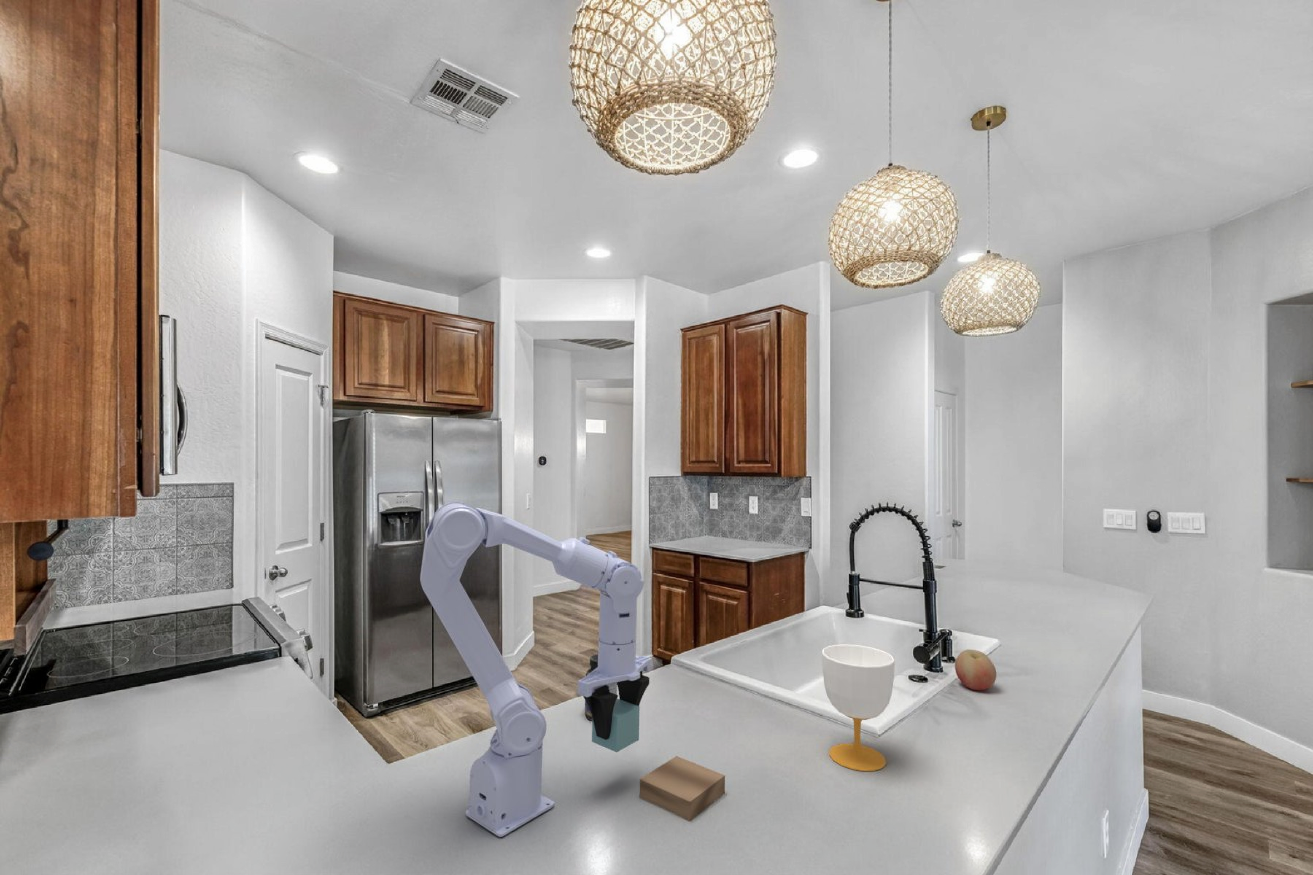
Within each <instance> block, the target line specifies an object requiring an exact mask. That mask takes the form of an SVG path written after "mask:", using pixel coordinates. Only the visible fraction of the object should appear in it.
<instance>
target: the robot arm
mask: <svg viewBox="0 0 1313 875" xmlns="http://www.w3.org/2000/svg"><path fill="white" fill-rule="evenodd" d="M590 543H591V540H589V539H587V538H584V537H582V536H580V537H579V539H577V538H575V537H570V538H567V539H565V540H563V541H559V540H557V539H555V538H553V537H550V536H548V535H547V534H544V533H542V532H540V531H538V530H535V529H534V528H532V527H529V526H527V525H525V524H523V523H521V522H519V521H516V520H514V519H512V518H510V517H508V516H506V515H504V514H501V513H499V512H498V513H497V512H494V511H490V510H488V509H484V508H479V507H475V509H474V508H472V507H471V506H470V505H468V504H466V503H464V502H461V501H450V502H446V503H445V504H443V505H441V506H440V507H439V508H438V509H436V511H435V513H434V514H433V516H432V518H431V520H430V522H429V524H428V526H427V527H426V529H425V535H424V545H423V553H422V560H421V568H420V575H419V576H420V578H419V580H420V585H421V588H422V590H423V592H424V594H425V595H426V598H427V600H428V601H429V603H430V604H431V607H433V610H434V611H435V613H436V615H437V616H438V618H439V620H440V621H441V623H442V625H443V626H444V629H445V630H446V632H447V634H448V635H449V638H450V639H451V640H452V643H453V644H454V645H455V648H456V649H457V651H458V654H460V656H461V658H462V659H463V661H464V664H465V665H466V667H467V668H468V670H469V672H470V674H471V676H472V677H473V679H474V681H475V682H476V684H477V686H478V687H479V689H480V691H481V693H482V694H483V696H484V698H485V701H486V703H487V704H488V706H489V708H490V709H489V711H490V716H491V719H492V721H493V723H494V725H495V727H496V729H495V731H494V733H493V735H492V737H491V739H490V742H489V743H490V744H489V747H488V749H487V750H486V751H485V752H484V753H483V755H480V757H479V758H477V759H476V760H475V761H473V763H472V765H471V768H470V774H469V795H468V796H469V798H468V799H469V800H468V801H469V802H468V803H469V804H468V809H466V811H465V816H466V817H467V818H470V819H471V820H473V821H474V822H476V823H477V824H479V825H480V826H482V827H483V828H485V829H486V830H487V831H489V832H491V833H493V834H494V835H496V837H499V838H501V837H502V838H503V837H504V836H506V835H508V834H509V833H511V832H512V831H514V830H516V829H518V828H519V827H521V826H523V825H524V824H527V822H530V821H531V820H533V819H534V818H537V817H538V816H540V815H541V814H544V813H545V812H547V811H549V810H550V809H552V808H553V807H554V806H555V801H553V800H552V799H550V798H548V797H546V796H544V795H542V789H543V788H542V784H543V783H542V782H543V779H542V778H543V749H544V748H543V745H544V744H543V742H544V738H545V736H546V732H547V721H546V717H545V715H544V713H543V712H542V711H541V710H540V709H539V707H538V705H537V703H536V702H535V700H534V697H533V694H532V693H531V691H530V690H529V689H528V688H527V687H526V686H524V685H523V684H520V683H519V682H518V681H517V680H516V677H515V676H514V675H513V673H512V671H511V670H510V668H509V666H508V664H507V663H506V661H505V659H504V657H503V655H502V654H501V652H500V650H499V648H498V646H497V645H496V643H495V641H494V639H493V637H492V636H491V634H490V632H489V631H488V629H487V627H486V626H485V624H484V622H483V620H482V618H481V617H480V615H479V612H478V611H477V610H476V607H475V606H474V604H473V602H472V601H471V599H470V597H469V595H468V594H467V592H466V589H465V588H464V587H463V584H462V583H461V581H460V580H461V577H462V575H463V572H464V569H465V567H466V565H467V561H468V559H469V558H470V557H471V556H472V554H474V552H475V551H476V550H477V548H478V547H479V546H480V544H482V545H483V546H484V547H485V548H490V547H494V546H499V545H503V544H504V545H508V546H511V547H513V548H515V549H519V550H521V551H523V552H526V553H529V554H531V555H533V556H537V557H538V558H541V559H543V560H547V561H549V562H551V563H552V566H553V568H554V571H555V573H556V575H558V576H560V577H564V578H566V579H568V580H570V581H573V582H575V583H578V584H579V585H583V586H586V587H587V588H589V589H592V590H598V591H599V609H598V611H599V612H598V645H597V646H598V647H597V648H598V649H597V651H598V652H597V653H598V667H597V668H596V669H595V670H593V671H592V672H591V673H589V674H588V675H587V676H586V675H585V676H584V677H583V678H580V679H579V680H577V695H579V696H582V697H583V699H584V701H585V700H586V702H587V704H588V707H589V709H590V712H591V715H592V718H593V722H594V726H595V731H596V736H597V737H600V738H602V739H605V740H607V739H609V737H610V733H611V723H612V714H613V709H614V705H615V702H616V700H617V699H620V700H623V701H625V702H628V703H631V704H634V705H637V706H640V704H641V701H642V698H643V696H644V694H645V692H646V691H647V688H648V687H649V685H650V677H649V676H646V675H643V672H646V673H649V672H650V671H652V659H653V658H651V657H648V656H645V655H641V656H637V622H638V620H637V619H638V618H637V617H638V615H637V614H638V611H637V610H638V607H637V606H638V605H637V604H638V598H639V596H640V595H641V593H642V592H643V589H644V585H645V580H643V579H642V573H641V571H640V570H639V569H638V567H637V566H636V565H635V564H633V563H631V562H629V561H627V560H625V559H622V558H621V557H620V556H618V555H617V553H616V552H614V551H612V550H609V551H608V552H607V551H604V550H602V549H599V548H597V547H595V546H593V545H591V544H590ZM614 683H617V692H618V694H617V695H616V694H613V693H611V692H610V690H608V686H610V685H612V684H614Z"/></svg>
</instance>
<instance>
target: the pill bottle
mask: <svg viewBox="0 0 1313 875" xmlns="http://www.w3.org/2000/svg"><path fill="white" fill-rule="evenodd" d="M589 667H590V668H589V669H588V670H586V673H585V677H586V676H587V675H588V674H589V673H591V672H592V671H593V670H595V669H596V668H597V667H598V654H593V655H592V656H590V658H589ZM608 690H610V692H611V693H613V694H616V695H618V686H617V683H614V684H612V685H610V686H608ZM584 716H585V718H587V720H590V721H592V715H591V712H590V709H589V707H588V704H587V702H586V700H585V699H584Z"/></svg>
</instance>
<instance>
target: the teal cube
mask: <svg viewBox="0 0 1313 875" xmlns="http://www.w3.org/2000/svg"><path fill="white" fill-rule="evenodd" d="M640 708H641V707H640V705H639V706H637V705H634V704H631V703H628V702H625V701H623V700H620V698H617V700H616V702H615V705H614V709H613V714H612V723H611V733H610V737H609V739H607V740H605V739H602V738H600V737H597V736H596V731H595V726H594V722H593V718H592V720H591V721H592V724H591V725H592V726H591V742H592V743H593V744H596V745H599V746H601V747H604V748H606V749H608V750H610V751H612V752H615V753H618V752H620V751H621V750H624V749H625V748H628V747H629V746H631V745H632V744H635V743H637V742H638V741H640Z"/></svg>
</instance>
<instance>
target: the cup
mask: <svg viewBox="0 0 1313 875" xmlns="http://www.w3.org/2000/svg"><path fill="white" fill-rule="evenodd" d="M821 659H822V660H821V662H822V664H821V665H822V675H823V684H824V689H825V694H826V696H827V698H828V700H829V701H830V703H831V706H833V707H834V709H835V710H837V711H838V712H839V713H840V714H841V715H844V716H845V717H848V718H849V719H852V721H853V730H854V734H853V743H840V744H836V745H833V746H832V747H831V748H830V749H829V757H830V758H831V759H832V760H833V761H834V762H835V763H836V764H839V766H842V767H844V768H846V769H850V770H853V771H859V772H876V771H878V770H882V769H883V768H884V767H885V766H886V765H887V762H886V761H887V760H886V757H885V756H884V755H883V754H881V753H880V752H879V751H878V750H876V749H874V748H872V747H869V746H866V745H862V744H861V727H862V721H866V720H867V721H868V720H870V719H875V718H877V717H879V716H880V715H881V714H882V713H884V711H885V710H886V708H887V707H888V706H889V704H890V701H891V697H892V694H893V687H894V680H895V664H896V663H895V662H896V661H895V659H894V657H893V655H891V654H890V653H889V652H887V651H884V650H881V649H878V648H875V647H871V646H867V645H859V644H845V643H844V644H833V645H832V644H831V645H828V646H826V647H824V648H822V651H821Z"/></svg>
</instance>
